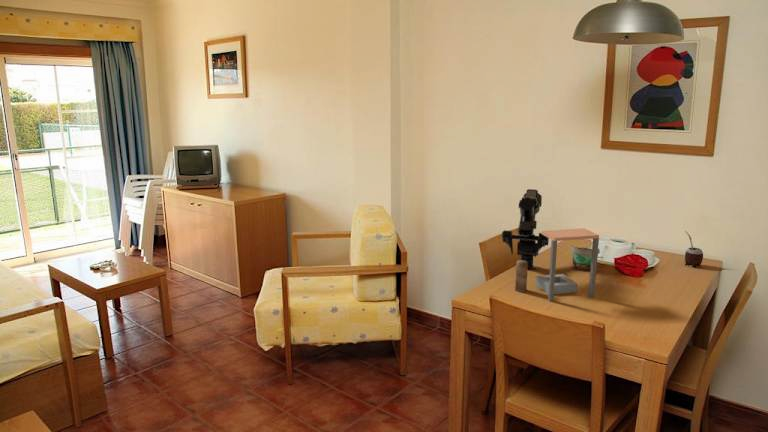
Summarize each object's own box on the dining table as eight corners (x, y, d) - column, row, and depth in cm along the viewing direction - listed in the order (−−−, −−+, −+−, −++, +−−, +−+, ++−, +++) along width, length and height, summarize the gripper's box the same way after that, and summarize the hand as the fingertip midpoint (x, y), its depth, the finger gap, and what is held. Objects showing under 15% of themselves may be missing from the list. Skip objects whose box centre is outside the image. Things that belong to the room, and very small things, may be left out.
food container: (567, 269, 238) (569, 248, 236) (569, 265, 243) (571, 244, 241) (597, 273, 232) (598, 251, 230) (598, 269, 238) (600, 248, 235)
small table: (528, 284, 220) (531, 225, 214) (569, 281, 223) (573, 223, 218) (550, 301, 202) (554, 238, 196) (594, 297, 205) (599, 235, 199)
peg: (513, 288, 216) (515, 260, 213) (524, 288, 216) (525, 260, 213) (517, 292, 212) (518, 263, 209) (527, 292, 212) (529, 263, 209)
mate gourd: (702, 269, 236) (706, 236, 233) (682, 266, 240) (686, 234, 236) (700, 264, 243) (704, 232, 240) (681, 262, 246) (685, 231, 243)
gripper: (503, 211, 221) (499, 244, 214) (550, 214, 215) (547, 247, 208) (504, 225, 230) (500, 257, 223) (549, 228, 225) (547, 261, 217)
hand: (523, 255), depth 217 cm, fingers open, 9 cm apart
